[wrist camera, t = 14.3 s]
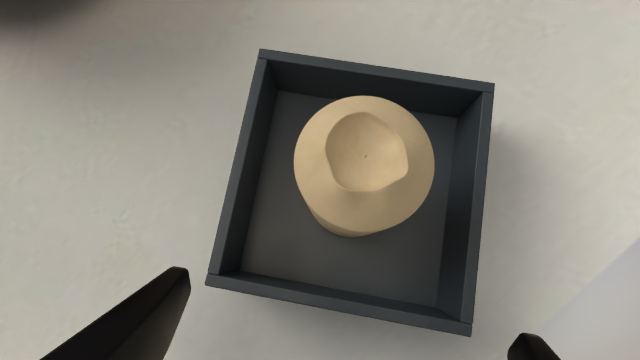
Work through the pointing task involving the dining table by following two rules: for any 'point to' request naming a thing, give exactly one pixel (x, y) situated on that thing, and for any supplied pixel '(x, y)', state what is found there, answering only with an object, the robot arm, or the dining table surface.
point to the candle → (363, 165)
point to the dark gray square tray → (374, 249)
